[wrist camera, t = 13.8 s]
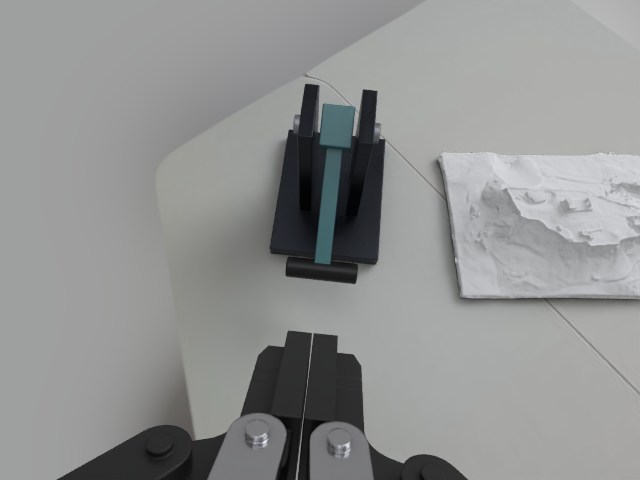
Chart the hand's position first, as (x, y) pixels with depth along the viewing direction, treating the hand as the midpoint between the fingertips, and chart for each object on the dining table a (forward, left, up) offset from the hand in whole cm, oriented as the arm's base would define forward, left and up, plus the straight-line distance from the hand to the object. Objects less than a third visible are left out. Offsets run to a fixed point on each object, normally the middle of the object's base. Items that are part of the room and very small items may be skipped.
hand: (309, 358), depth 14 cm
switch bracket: (+16, +9, -23) cm, 29 cm away
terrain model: (+26, -10, -23) cm, 36 cm away
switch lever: (+13, +7, -16) cm, 21 cm away
